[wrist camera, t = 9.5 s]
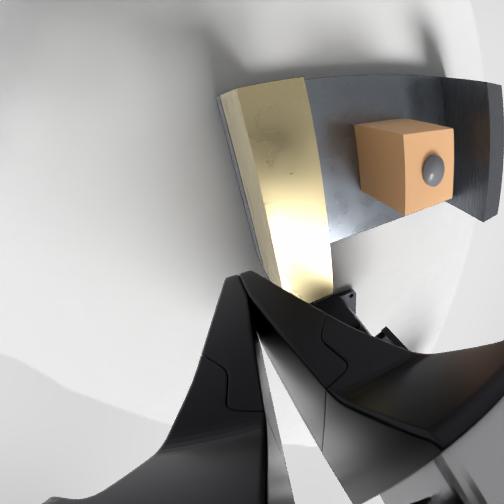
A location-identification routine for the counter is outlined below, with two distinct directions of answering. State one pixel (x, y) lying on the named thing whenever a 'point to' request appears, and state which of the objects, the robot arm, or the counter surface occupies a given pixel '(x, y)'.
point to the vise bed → (397, 107)
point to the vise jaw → (283, 183)
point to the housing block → (406, 163)
